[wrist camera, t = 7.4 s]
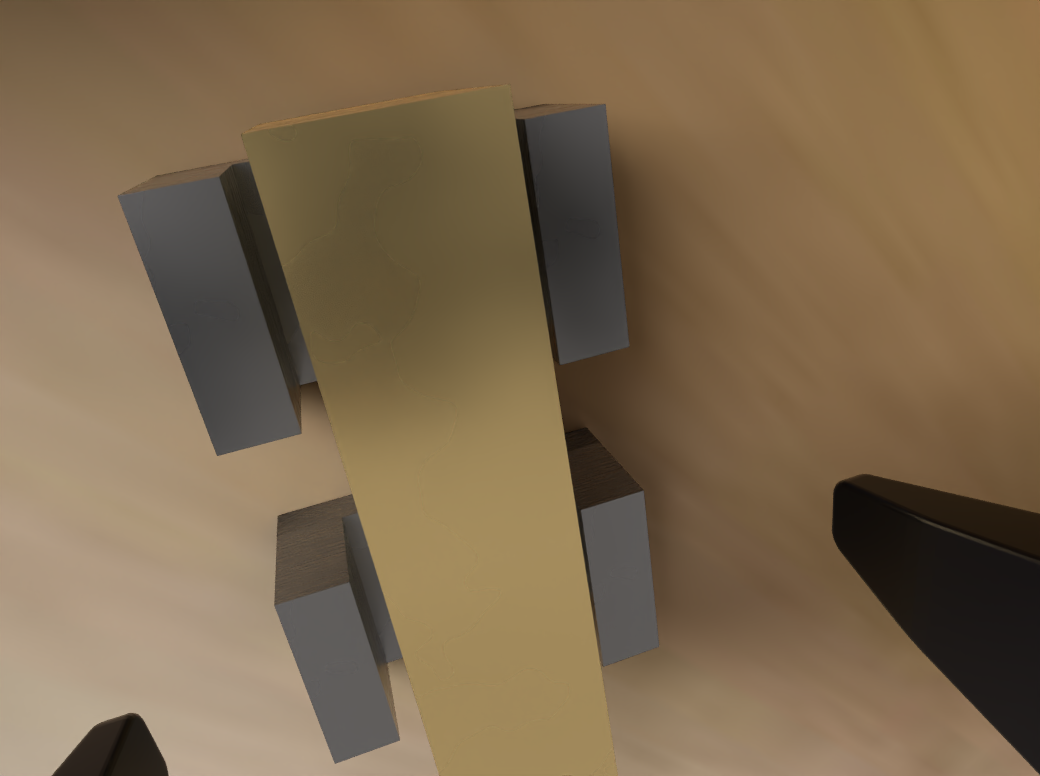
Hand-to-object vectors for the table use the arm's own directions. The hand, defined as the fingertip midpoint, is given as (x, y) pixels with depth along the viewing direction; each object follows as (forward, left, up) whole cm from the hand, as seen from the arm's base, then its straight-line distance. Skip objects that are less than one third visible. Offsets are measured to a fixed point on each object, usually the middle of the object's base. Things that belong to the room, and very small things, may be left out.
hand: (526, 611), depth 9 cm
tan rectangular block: (0, 0, -6) cm, 6 cm away
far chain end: (-4, 0, -7) cm, 8 cm away
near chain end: (+3, 0, -7) cm, 8 cm away
